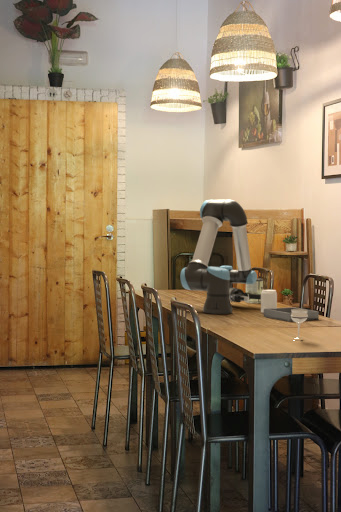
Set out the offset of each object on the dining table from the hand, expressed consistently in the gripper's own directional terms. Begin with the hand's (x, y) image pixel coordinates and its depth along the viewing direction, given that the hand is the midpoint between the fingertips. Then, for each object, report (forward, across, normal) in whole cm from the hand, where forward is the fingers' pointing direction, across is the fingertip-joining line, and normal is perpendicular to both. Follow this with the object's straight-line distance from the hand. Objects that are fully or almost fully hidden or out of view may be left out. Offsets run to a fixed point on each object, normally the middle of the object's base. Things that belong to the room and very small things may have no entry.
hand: (258, 299), depth 380 cm
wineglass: (+82, +44, -7) cm, 93 cm away
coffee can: (-35, -24, -7) cm, 43 cm away
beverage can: (+9, 0, -7) cm, 11 cm away
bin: (+29, +2, -6) cm, 30 cm away
